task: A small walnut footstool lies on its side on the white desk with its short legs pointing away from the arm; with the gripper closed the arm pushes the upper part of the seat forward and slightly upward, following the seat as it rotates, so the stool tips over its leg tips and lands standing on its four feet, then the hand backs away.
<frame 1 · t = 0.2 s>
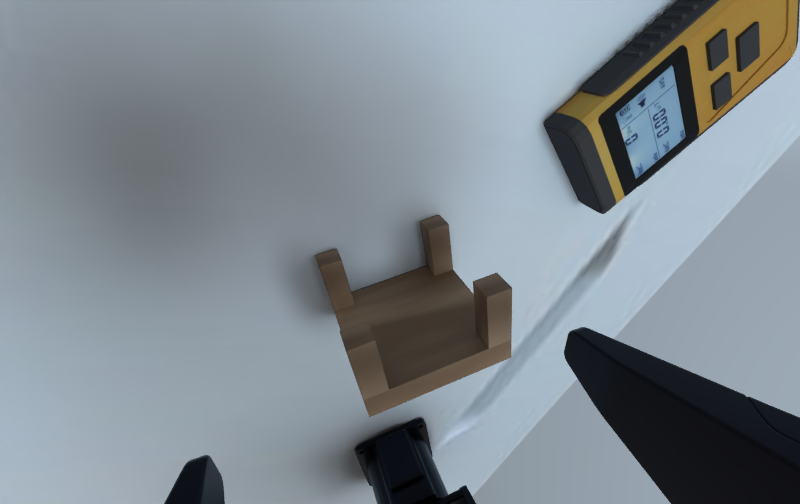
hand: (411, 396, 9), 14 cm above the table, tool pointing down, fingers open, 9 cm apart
footstool: (391, 286, 26), on the table
electronic device: (649, 81, 25), on the table
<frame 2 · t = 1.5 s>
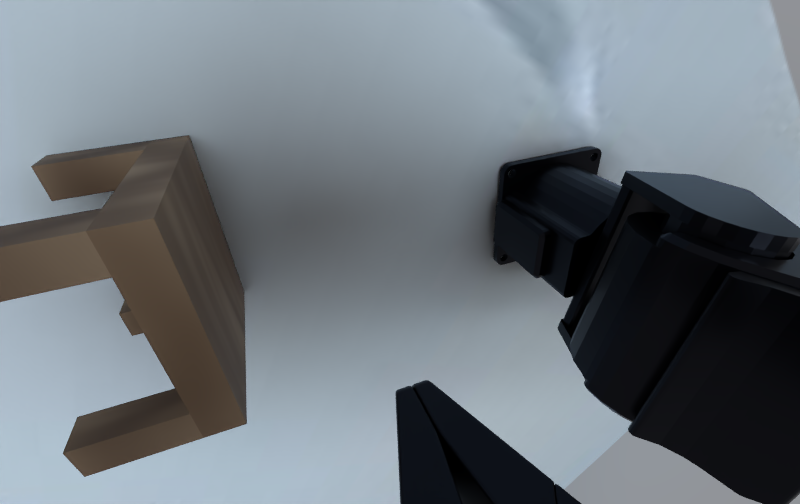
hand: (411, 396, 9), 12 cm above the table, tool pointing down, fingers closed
footstool: (203, 226, 18), on the table
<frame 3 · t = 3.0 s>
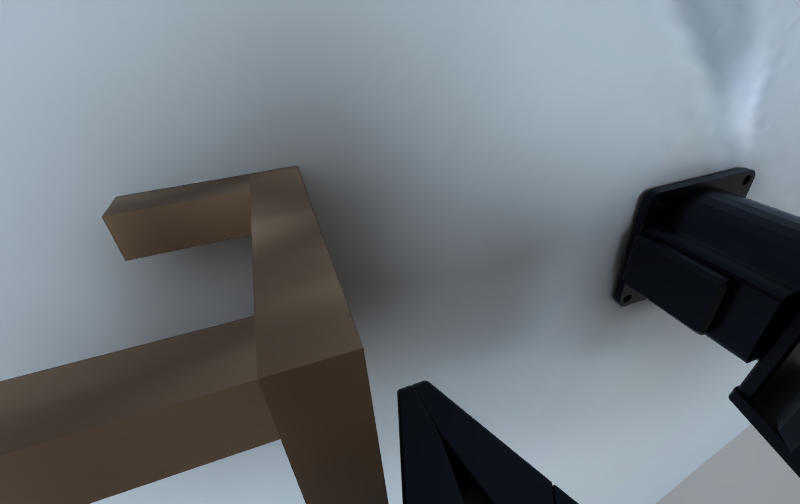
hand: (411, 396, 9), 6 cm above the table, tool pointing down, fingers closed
footstool: (300, 277, 14), on the table, touching gripper
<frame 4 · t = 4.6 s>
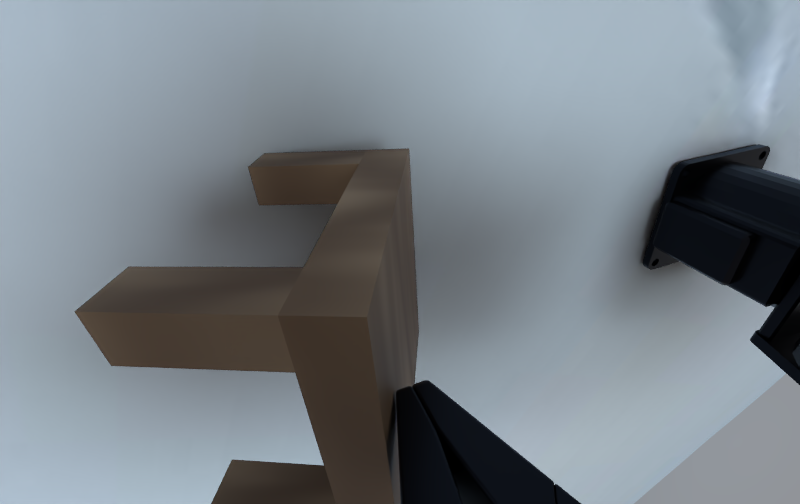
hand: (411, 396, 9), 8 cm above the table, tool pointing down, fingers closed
footstool: (396, 252, 15), point 2 cm above the table, tilted 25°, touching gripper
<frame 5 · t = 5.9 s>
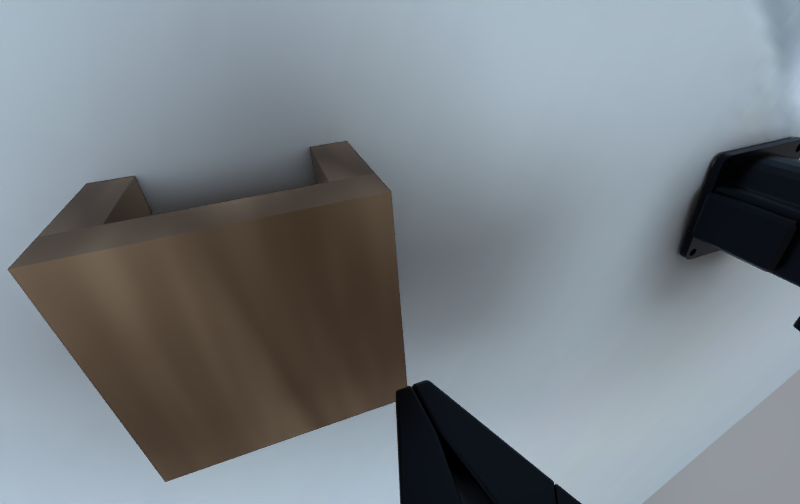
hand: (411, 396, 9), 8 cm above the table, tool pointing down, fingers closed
footstool: (393, 299, 12), point 4 cm above the table, tilted 90°
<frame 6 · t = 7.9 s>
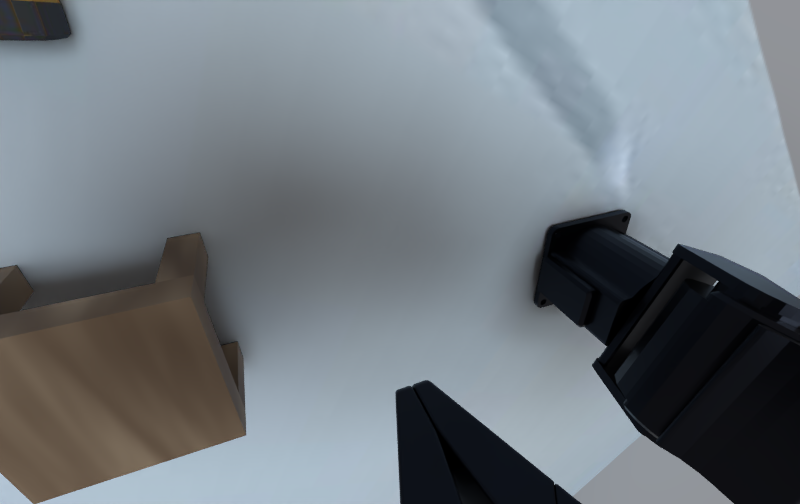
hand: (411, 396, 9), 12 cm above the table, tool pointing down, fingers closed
footstool: (222, 362, 16), point 4 cm above the table, tilted 90°
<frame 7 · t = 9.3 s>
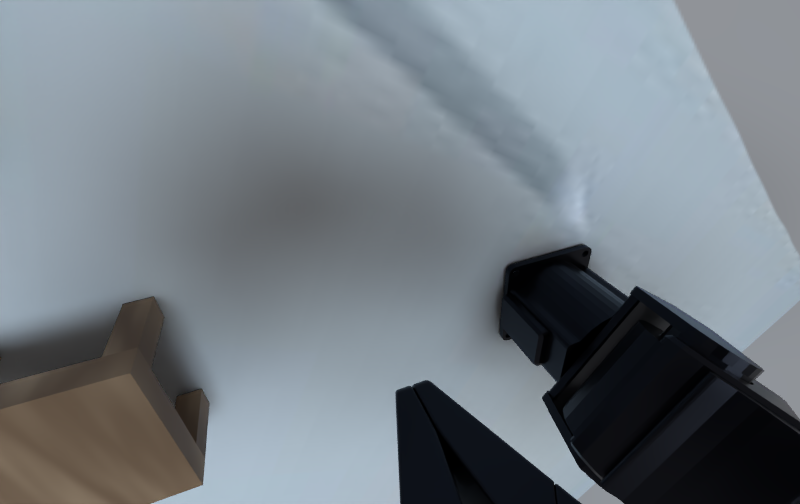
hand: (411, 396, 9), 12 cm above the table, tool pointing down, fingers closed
footstool: (173, 422, 17), point 4 cm above the table, tilted 90°
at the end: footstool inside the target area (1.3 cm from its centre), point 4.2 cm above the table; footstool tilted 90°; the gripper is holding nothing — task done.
